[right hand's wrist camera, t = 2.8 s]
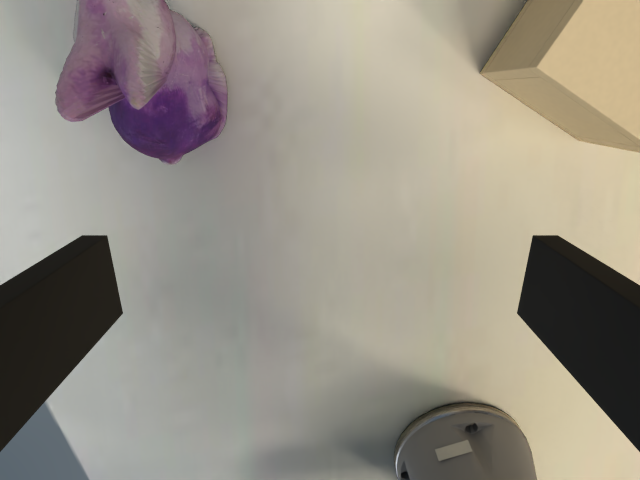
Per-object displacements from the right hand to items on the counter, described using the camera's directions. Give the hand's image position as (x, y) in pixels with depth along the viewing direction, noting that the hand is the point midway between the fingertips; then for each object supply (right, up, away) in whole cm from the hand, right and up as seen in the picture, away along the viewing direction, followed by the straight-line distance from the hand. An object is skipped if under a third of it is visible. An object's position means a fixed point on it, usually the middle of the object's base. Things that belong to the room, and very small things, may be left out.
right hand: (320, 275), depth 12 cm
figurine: (-12, +14, +20) cm, 27 cm away
